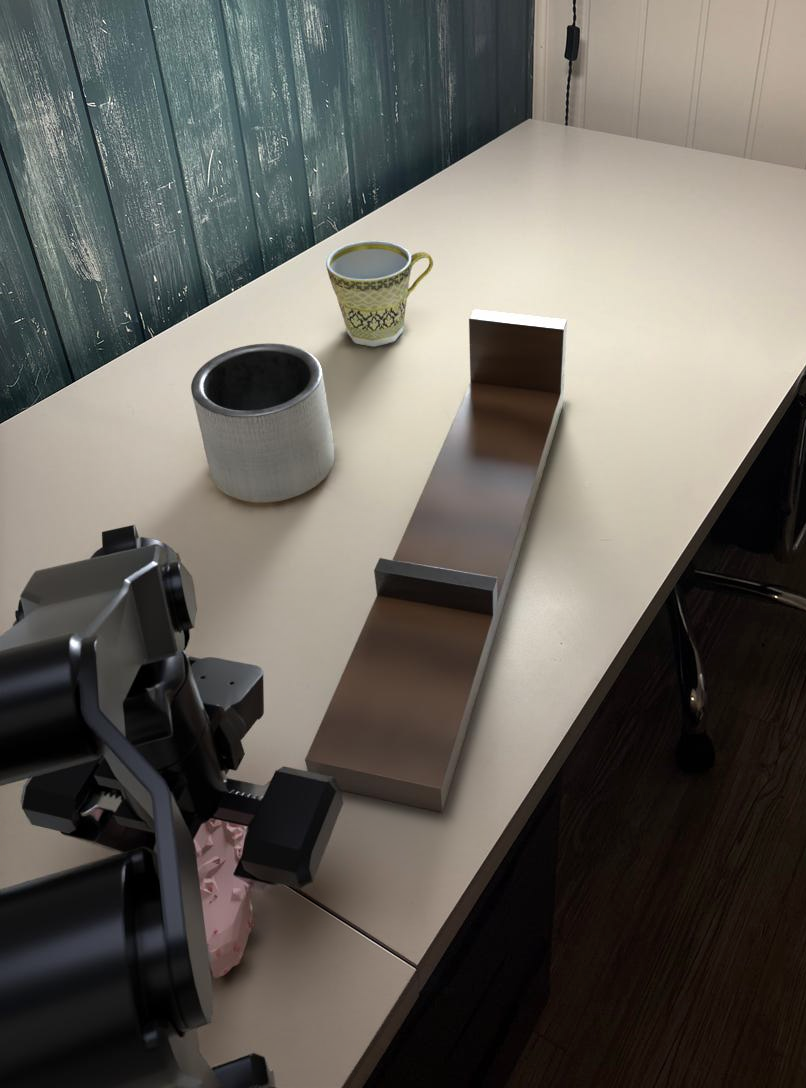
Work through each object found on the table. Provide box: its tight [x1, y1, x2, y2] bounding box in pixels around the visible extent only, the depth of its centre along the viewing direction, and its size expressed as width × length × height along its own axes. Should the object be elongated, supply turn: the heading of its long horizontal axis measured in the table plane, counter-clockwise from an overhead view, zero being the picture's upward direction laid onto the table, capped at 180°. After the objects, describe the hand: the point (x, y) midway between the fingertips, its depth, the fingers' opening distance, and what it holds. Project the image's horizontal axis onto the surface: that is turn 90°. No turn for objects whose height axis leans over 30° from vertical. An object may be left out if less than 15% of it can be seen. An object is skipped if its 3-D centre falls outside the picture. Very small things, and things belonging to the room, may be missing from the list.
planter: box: [190, 342, 335, 503], centre depth 94 cm, size 13×13×11 cm
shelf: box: [304, 309, 568, 813], centre depth 83 cm, size 50×10×11 cm, turn 166°
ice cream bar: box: [154, 819, 254, 979], centre depth 62 cm, size 6×4×15 cm
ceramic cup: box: [325, 240, 434, 348], centre depth 115 cm, size 13×10×10 cm
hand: (210, 869), depth 63 cm, fingers closed on ice cream bar, 7 cm apart
